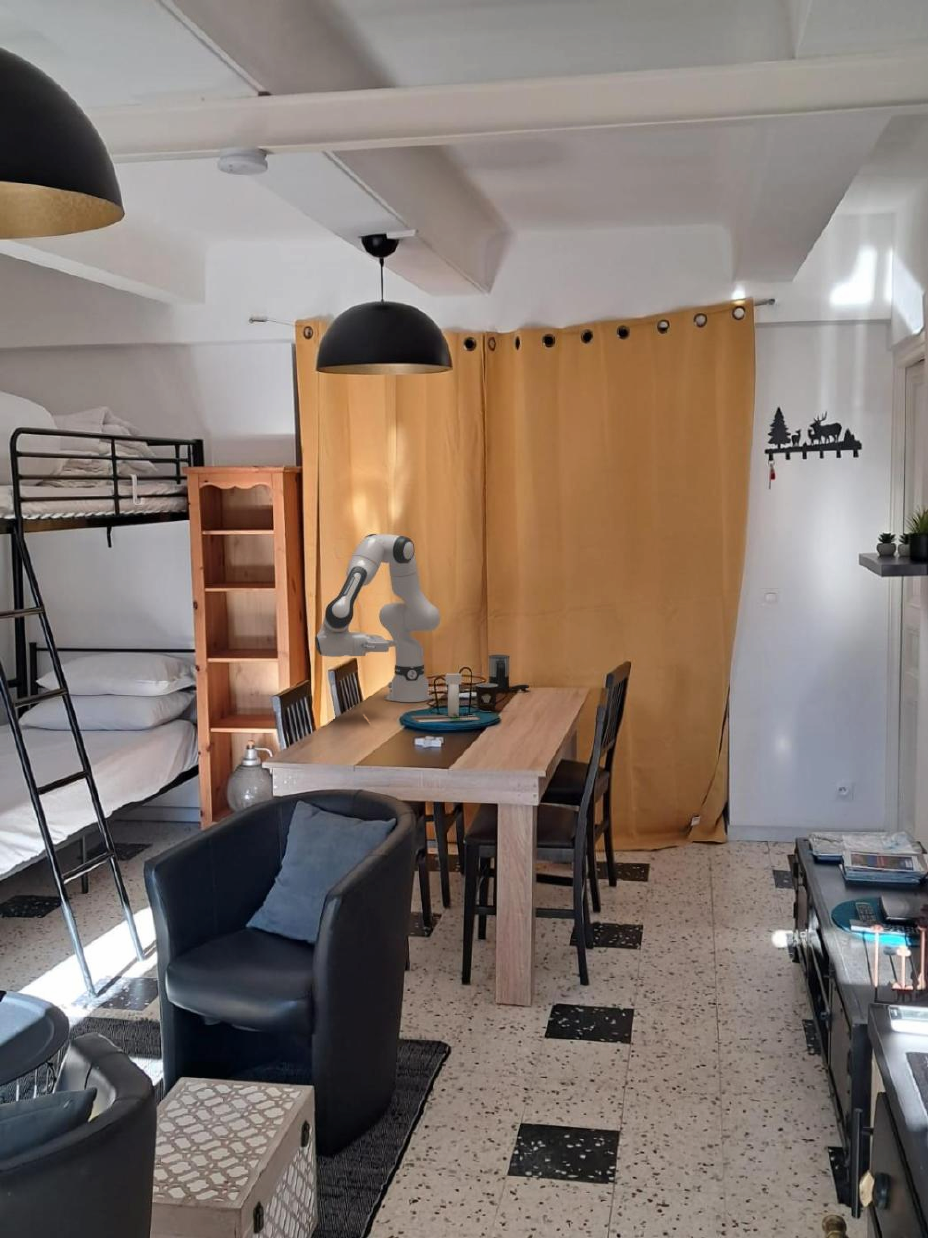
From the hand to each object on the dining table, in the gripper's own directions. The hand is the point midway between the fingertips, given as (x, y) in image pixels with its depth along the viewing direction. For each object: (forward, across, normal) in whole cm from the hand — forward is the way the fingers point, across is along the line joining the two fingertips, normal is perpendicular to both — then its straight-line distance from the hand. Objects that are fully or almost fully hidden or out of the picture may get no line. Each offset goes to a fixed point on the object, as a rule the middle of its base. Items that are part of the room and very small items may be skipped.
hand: (397, 643), depth 444 cm
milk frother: (+56, +49, +28) cm, 80 cm away
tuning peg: (+19, -13, +26) cm, 35 cm away
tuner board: (+16, -11, +28) cm, 34 cm away
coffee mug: (+37, +6, +28) cm, 47 cm away
